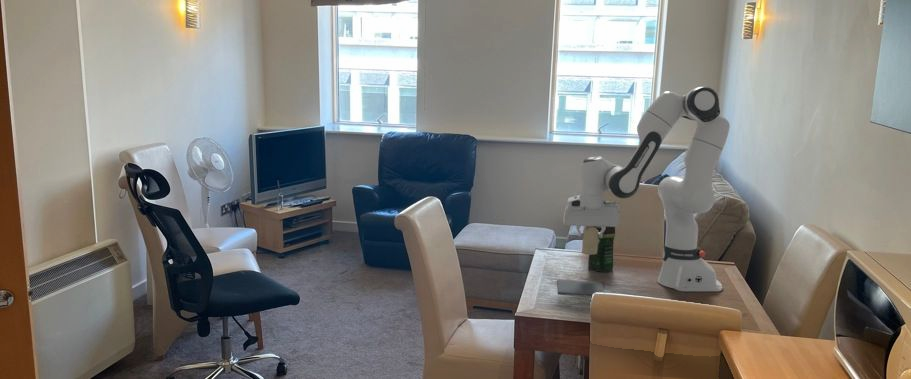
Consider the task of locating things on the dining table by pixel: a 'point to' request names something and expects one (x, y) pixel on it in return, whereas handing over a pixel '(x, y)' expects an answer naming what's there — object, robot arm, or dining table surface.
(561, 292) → the placemat
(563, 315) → the dining table surface
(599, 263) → the coffee jar
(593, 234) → the candle
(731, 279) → the dining table surface
